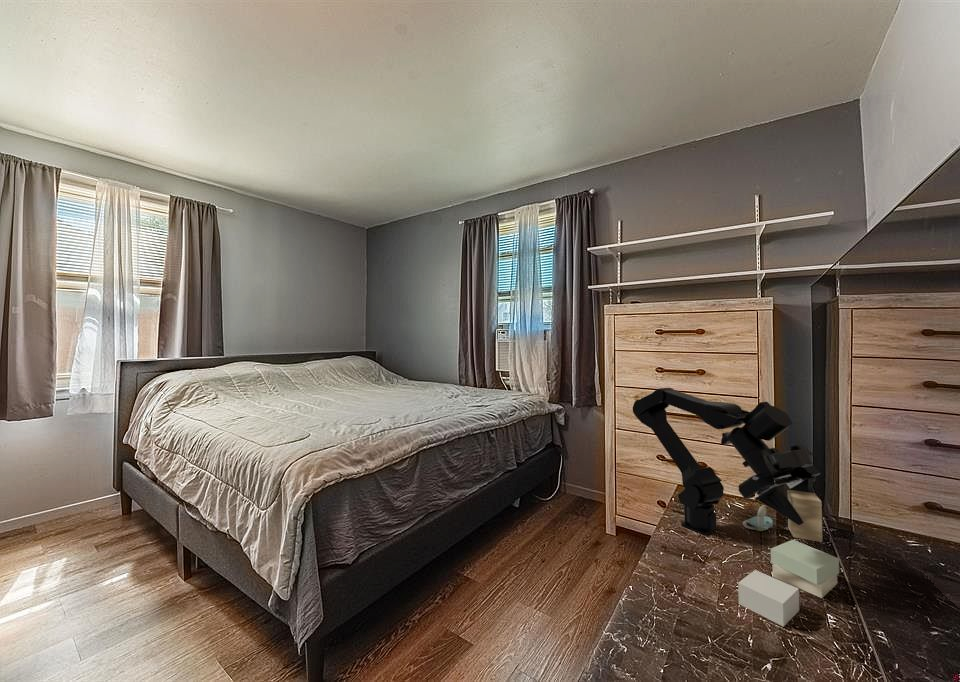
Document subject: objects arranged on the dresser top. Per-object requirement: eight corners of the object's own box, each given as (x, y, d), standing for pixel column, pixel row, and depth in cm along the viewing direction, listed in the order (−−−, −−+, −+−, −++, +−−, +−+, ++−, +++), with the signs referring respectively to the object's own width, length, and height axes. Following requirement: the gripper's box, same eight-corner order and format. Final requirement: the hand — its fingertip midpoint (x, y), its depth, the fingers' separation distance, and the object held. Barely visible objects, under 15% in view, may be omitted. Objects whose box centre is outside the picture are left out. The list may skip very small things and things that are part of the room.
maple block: (793, 537, 77) (792, 497, 77) (788, 527, 81) (787, 489, 81) (822, 542, 75) (821, 501, 75) (815, 531, 79) (814, 493, 79)
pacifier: (738, 528, 101) (765, 536, 96) (736, 504, 101) (763, 511, 96) (749, 519, 105) (775, 527, 100) (748, 496, 105) (774, 503, 100)
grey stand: (738, 603, 72) (738, 582, 72) (755, 590, 76) (755, 569, 76) (783, 626, 66) (782, 603, 66) (799, 610, 70) (798, 588, 70)
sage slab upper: (770, 562, 81) (770, 548, 81) (792, 553, 84) (792, 539, 84) (816, 584, 73) (816, 569, 73) (839, 573, 77) (838, 558, 76)
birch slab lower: (772, 579, 80) (772, 564, 80) (789, 566, 84) (789, 552, 84) (822, 600, 73) (821, 585, 73) (837, 585, 77) (836, 570, 77)
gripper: (751, 437, 79) (815, 513, 68) (809, 427, 85) (875, 495, 75) (716, 464, 86) (769, 536, 76) (772, 453, 93) (827, 518, 82)
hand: (812, 520), depth 77 cm, fingers closed on maple block, 6 cm apart
